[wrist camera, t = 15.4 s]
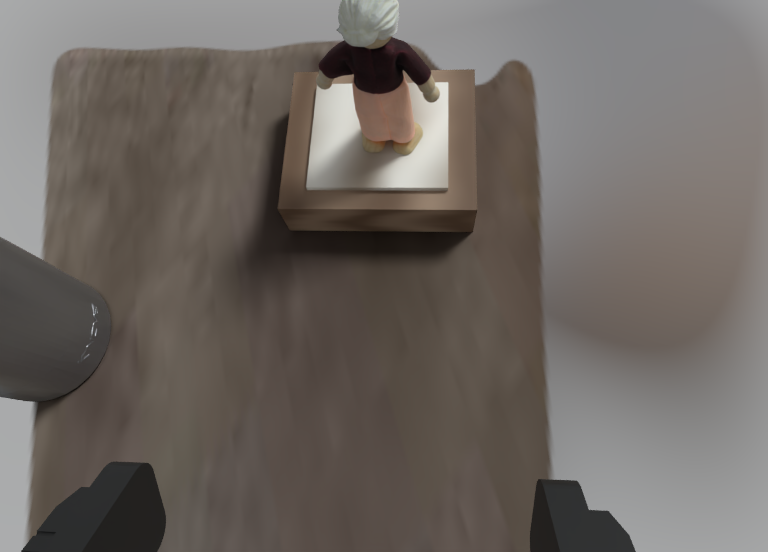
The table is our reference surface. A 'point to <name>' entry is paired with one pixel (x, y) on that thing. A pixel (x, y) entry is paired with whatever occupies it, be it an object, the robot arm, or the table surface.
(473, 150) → the stand
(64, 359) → the robot arm
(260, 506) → the table surface
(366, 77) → the grandmother figurine
